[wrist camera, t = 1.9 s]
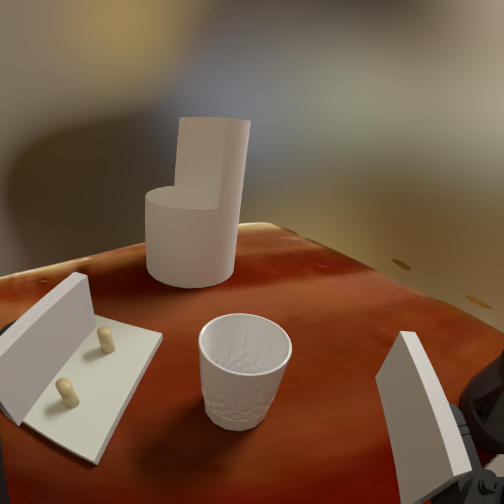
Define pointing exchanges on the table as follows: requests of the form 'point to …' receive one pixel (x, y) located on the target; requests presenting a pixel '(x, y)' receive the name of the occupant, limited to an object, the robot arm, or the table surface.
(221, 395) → the white cup
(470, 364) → the table surface
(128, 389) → the standoff plate
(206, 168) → the cylinder
